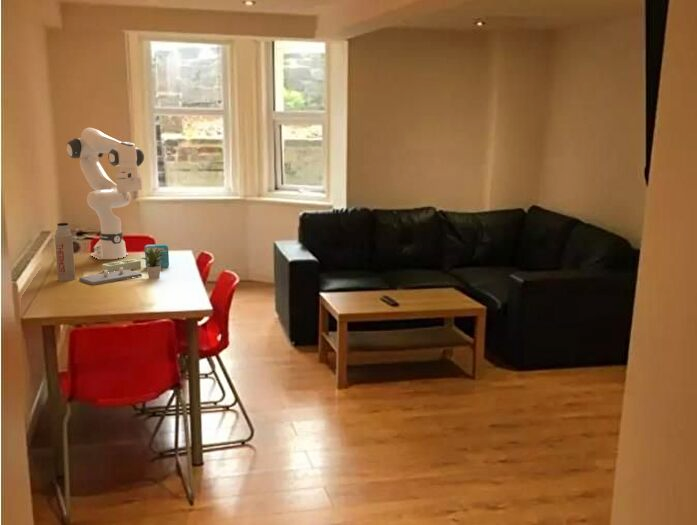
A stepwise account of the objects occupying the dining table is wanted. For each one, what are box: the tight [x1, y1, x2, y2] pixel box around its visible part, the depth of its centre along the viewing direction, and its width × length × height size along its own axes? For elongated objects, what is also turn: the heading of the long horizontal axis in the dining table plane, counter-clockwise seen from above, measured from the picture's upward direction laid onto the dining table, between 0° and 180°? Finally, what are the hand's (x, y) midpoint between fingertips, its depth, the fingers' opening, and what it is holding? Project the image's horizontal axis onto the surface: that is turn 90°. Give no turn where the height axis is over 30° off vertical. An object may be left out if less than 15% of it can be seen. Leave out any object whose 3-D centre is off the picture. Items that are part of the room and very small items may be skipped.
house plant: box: [140, 246, 169, 280], centre depth 354 cm, size 14×14×16 cm
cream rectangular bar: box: [101, 258, 142, 272], centre depth 374 cm, size 18×6×4 cm, turn 137°
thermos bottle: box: [54, 222, 76, 282], centre depth 350 cm, size 8×8×28 cm
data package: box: [144, 243, 170, 269], centre depth 381 cm, size 12×4×12 cm, turn 105°
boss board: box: [78, 268, 143, 286], centre depth 355 cm, size 14×26×4 cm, turn 137°
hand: (130, 200), depth 375 cm, fingers open, 8 cm apart
